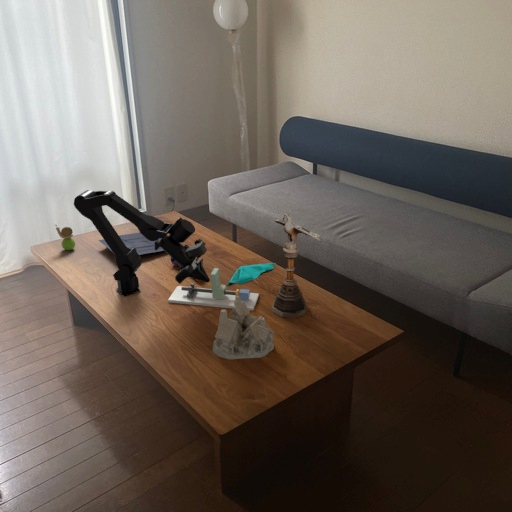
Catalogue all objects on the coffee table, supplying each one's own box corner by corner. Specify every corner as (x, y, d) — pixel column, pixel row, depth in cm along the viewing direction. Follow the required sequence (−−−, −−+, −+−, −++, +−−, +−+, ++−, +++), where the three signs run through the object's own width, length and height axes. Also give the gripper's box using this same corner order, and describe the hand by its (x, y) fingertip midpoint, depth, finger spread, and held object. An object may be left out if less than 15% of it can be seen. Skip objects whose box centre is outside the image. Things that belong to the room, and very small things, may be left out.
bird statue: (296, 290, 184) (299, 197, 169) (323, 304, 175) (328, 207, 160) (261, 306, 174) (261, 209, 159) (288, 321, 165) (290, 220, 150)
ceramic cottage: (204, 347, 153) (205, 304, 146) (244, 327, 164) (247, 286, 157) (240, 373, 143) (243, 329, 137) (280, 350, 154) (284, 308, 147)
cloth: (269, 259, 209) (269, 254, 208) (289, 272, 198) (289, 267, 197) (212, 276, 196) (212, 270, 195) (230, 290, 186) (230, 285, 185)
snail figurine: (59, 248, 218) (54, 222, 213) (75, 246, 221) (70, 220, 216) (61, 253, 214) (55, 227, 209) (76, 250, 216) (72, 224, 211)
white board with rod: (168, 302, 177) (167, 290, 175) (177, 288, 186) (177, 277, 184) (253, 310, 172) (253, 298, 170) (258, 295, 181) (258, 284, 179)
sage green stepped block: (211, 299, 176) (210, 274, 172) (215, 292, 181) (214, 267, 176) (223, 300, 176) (222, 275, 171) (226, 293, 180) (225, 268, 176)
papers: (96, 244, 219) (96, 236, 218) (160, 235, 237) (160, 228, 235) (119, 264, 202) (119, 256, 200) (186, 253, 219) (186, 245, 218)
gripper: (181, 247, 162) (217, 280, 165) (199, 225, 178) (231, 256, 181) (160, 267, 167) (195, 299, 169) (179, 244, 183) (210, 274, 186)
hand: (209, 281), depth 176 cm, fingers closed
